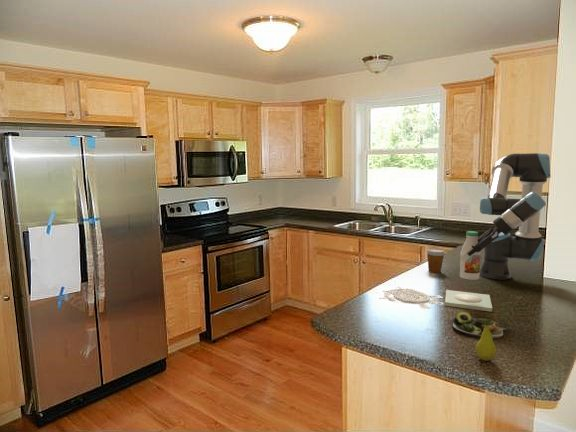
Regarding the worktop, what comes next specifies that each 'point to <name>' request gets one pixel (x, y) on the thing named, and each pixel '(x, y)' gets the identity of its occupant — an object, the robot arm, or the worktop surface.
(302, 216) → the worktop surface
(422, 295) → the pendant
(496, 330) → the salad plate
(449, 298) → the locating board
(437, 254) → the disposable coffee cup
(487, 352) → the fruit
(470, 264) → the milk bottle
